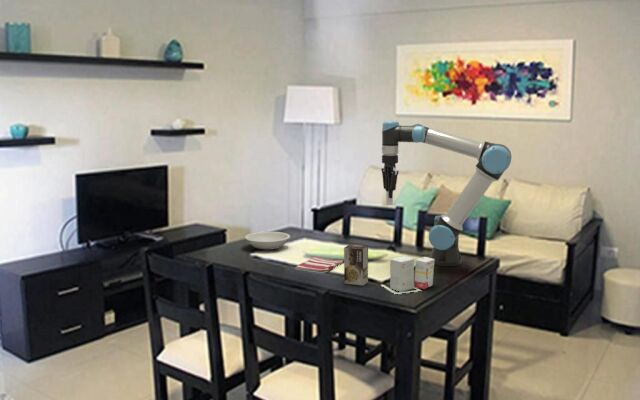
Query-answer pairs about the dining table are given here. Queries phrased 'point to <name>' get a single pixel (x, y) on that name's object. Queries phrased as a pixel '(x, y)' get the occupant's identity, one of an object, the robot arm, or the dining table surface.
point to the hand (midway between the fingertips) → (389, 204)
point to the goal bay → (400, 292)
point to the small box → (402, 273)
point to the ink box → (424, 272)
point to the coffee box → (356, 264)
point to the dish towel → (318, 265)
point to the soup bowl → (267, 239)
